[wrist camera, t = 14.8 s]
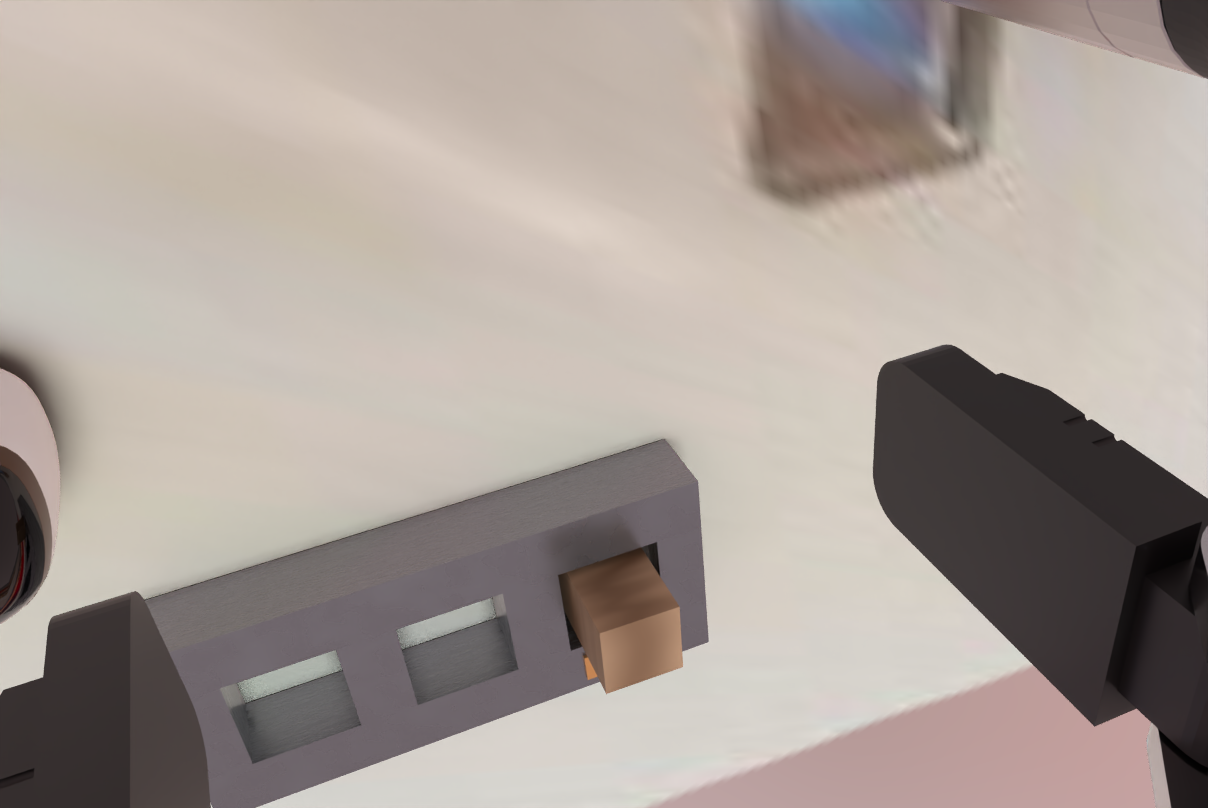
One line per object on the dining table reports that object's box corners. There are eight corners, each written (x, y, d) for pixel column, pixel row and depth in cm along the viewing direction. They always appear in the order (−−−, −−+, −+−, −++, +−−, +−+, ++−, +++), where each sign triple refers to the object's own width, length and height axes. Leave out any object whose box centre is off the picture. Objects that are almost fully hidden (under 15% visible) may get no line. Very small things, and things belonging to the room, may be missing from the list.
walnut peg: (616, 509, 56) (679, 606, 49) (622, 566, 58) (682, 667, 52) (545, 531, 55) (599, 633, 48) (553, 589, 57) (606, 693, 51)
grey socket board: (664, 438, 55) (699, 483, 51) (678, 595, 61) (710, 644, 57) (141, 601, 48) (141, 664, 45) (214, 758, 54) (219, 824, 51)
